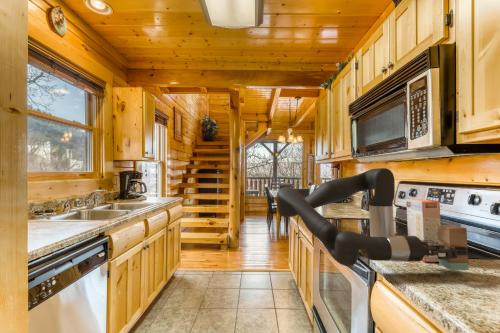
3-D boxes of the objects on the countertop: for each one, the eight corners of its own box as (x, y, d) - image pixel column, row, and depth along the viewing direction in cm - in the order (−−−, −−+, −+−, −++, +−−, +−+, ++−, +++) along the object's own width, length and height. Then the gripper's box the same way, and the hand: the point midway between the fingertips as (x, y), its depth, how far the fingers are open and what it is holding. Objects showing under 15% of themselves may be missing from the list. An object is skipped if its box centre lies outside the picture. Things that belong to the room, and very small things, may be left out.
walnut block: (453, 225, 82) (455, 264, 81) (437, 225, 82) (439, 264, 81) (466, 228, 77) (468, 270, 76) (448, 228, 77) (451, 270, 76)
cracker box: (444, 263, 88) (440, 201, 89) (424, 262, 89) (420, 201, 90) (425, 252, 102) (422, 198, 103) (408, 251, 103) (405, 198, 104)
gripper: (390, 254, 87) (444, 254, 86) (415, 269, 72) (480, 269, 71) (389, 231, 87) (443, 231, 86) (414, 241, 73) (478, 241, 72)
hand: (459, 248), depth 79 cm, fingers closed on walnut block, 5 cm apart
